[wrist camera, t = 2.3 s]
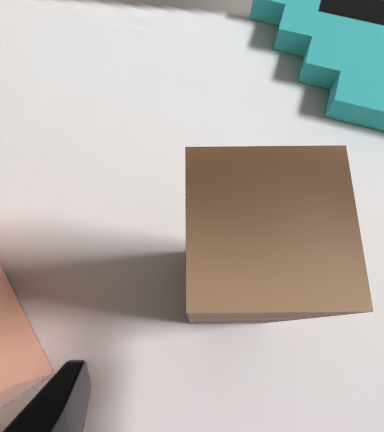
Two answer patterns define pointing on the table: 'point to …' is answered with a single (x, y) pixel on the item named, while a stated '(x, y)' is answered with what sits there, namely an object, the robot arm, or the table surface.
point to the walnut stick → (272, 235)
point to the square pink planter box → (18, 348)
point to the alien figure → (335, 51)
